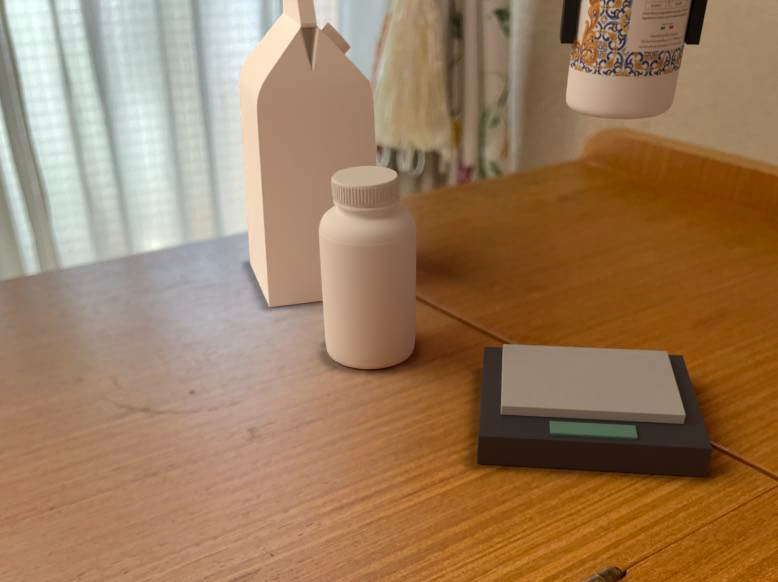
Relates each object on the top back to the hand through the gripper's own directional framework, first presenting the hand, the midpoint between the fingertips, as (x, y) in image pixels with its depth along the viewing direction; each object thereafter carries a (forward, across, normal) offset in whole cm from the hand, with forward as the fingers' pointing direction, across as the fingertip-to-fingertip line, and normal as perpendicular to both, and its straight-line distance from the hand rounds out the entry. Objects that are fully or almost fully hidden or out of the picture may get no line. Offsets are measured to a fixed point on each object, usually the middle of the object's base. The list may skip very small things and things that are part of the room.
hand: (627, 39), depth 55 cm
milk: (+25, -26, +21) cm, 42 cm away
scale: (+25, 0, -5) cm, 26 cm away
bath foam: (+4, 0, 0) cm, 4 cm away
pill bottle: (+25, -18, +5) cm, 31 cm away
